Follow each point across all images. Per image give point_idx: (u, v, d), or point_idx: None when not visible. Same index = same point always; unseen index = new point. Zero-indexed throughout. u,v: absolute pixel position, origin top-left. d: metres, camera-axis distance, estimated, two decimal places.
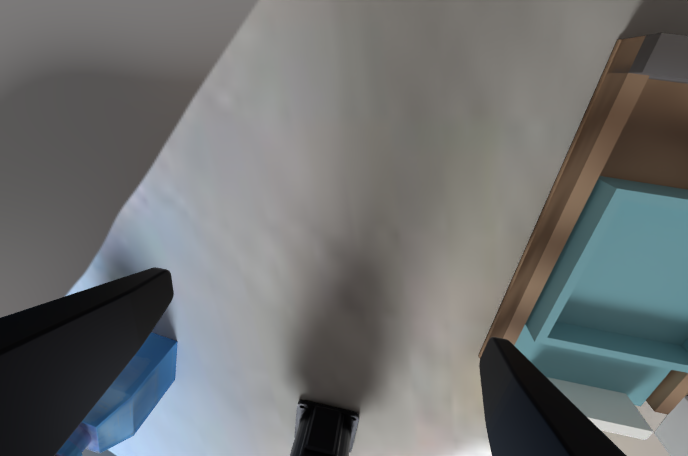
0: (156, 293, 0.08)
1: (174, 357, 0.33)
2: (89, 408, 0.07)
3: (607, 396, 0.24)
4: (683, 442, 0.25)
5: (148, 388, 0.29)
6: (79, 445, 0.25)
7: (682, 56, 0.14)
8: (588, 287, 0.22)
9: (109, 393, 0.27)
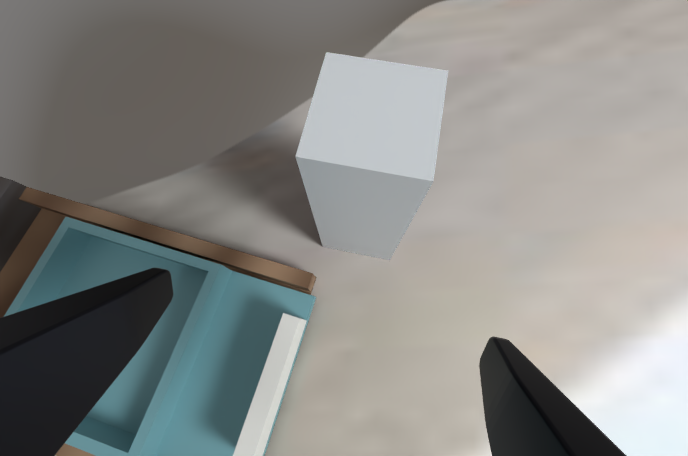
0: (156, 293, 0.08)
1: None
2: (89, 407, 0.07)
3: None
4: (363, 247, 0.21)
5: None
6: None
7: None
8: (120, 381, 0.19)
9: None
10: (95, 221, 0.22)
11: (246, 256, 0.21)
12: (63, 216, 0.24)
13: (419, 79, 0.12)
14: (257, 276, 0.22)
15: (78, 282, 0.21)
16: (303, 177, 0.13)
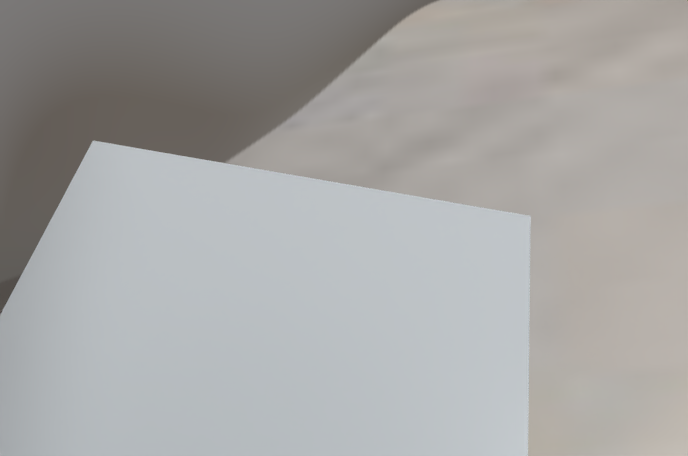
0: None
1: None
2: None
3: None
4: None
5: None
6: None
7: None
8: None
9: None
10: None
11: None
12: None
13: (422, 258, 0.03)
14: None
15: None
16: None
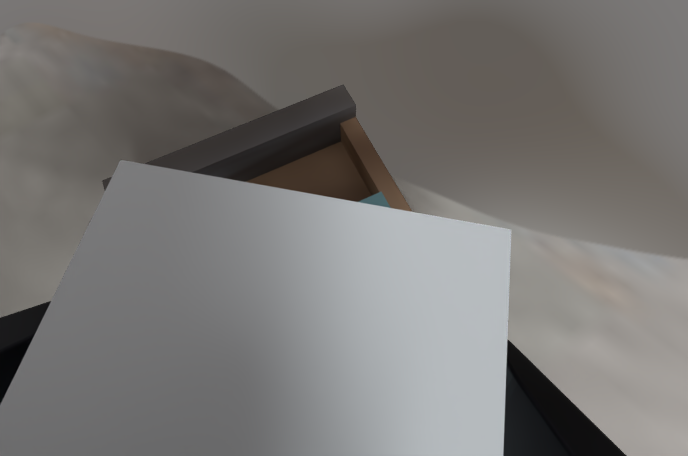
0: None
1: None
2: None
3: None
4: None
5: None
6: None
7: None
8: None
9: None
10: None
11: None
12: (353, 167, 0.19)
13: (415, 267, 0.04)
14: None
15: None
16: None
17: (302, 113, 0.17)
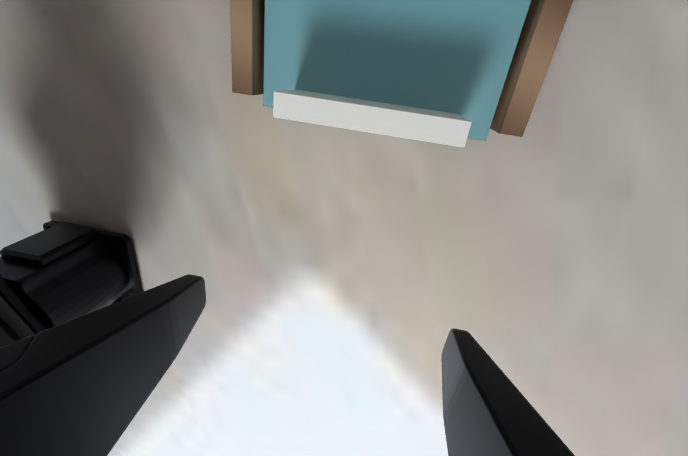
0: (191, 301, 0.08)
1: None
2: (131, 417, 0.07)
3: (422, 109, 0.14)
4: None
5: None
6: None
7: None
8: None
9: None
10: None
11: (562, 15, 0.12)
12: None
13: None
14: None
15: None
16: None
17: None
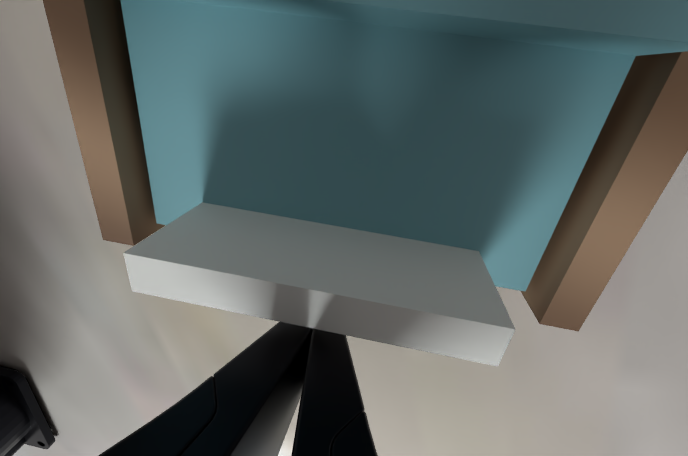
0: None
1: None
2: (277, 454, 0.07)
3: (415, 252, 0.08)
4: None
5: None
6: None
7: None
8: None
9: None
10: None
11: (671, 159, 0.06)
12: None
13: None
14: None
15: None
16: None
17: None
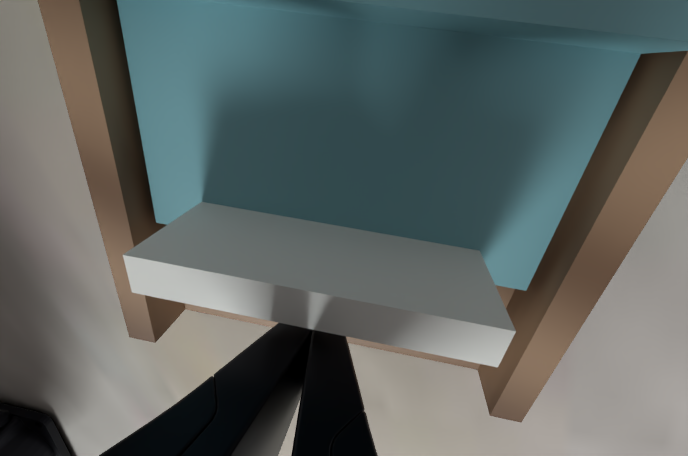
0: None
1: None
2: (277, 454, 0.07)
3: (415, 251, 0.08)
4: None
5: None
6: None
7: None
8: None
9: None
10: None
11: (580, 314, 0.08)
12: None
13: None
14: None
15: None
16: None
17: None
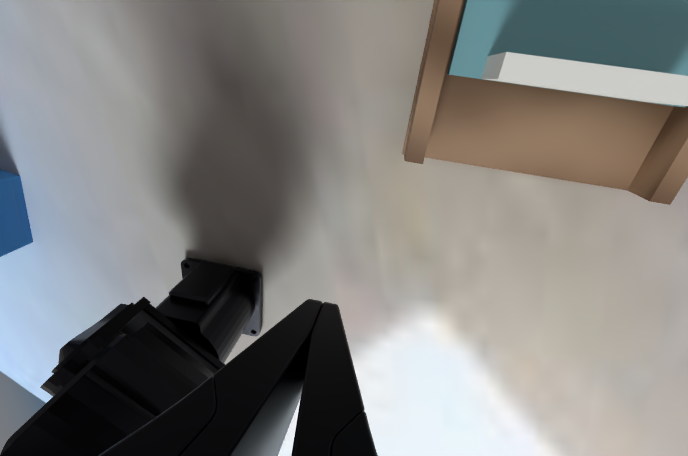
0: None
1: (20, 201, 0.25)
2: (277, 454, 0.07)
3: None
4: None
5: None
6: None
7: None
8: None
9: None
10: None
11: None
12: None
13: None
14: (666, 117, 0.16)
15: None
16: None
17: None
